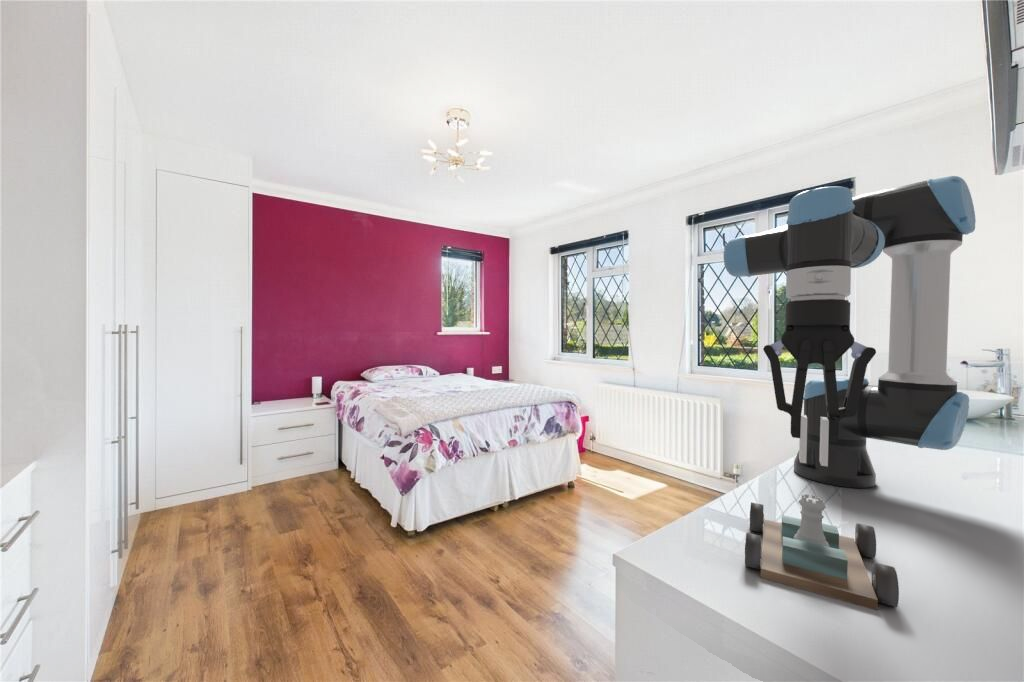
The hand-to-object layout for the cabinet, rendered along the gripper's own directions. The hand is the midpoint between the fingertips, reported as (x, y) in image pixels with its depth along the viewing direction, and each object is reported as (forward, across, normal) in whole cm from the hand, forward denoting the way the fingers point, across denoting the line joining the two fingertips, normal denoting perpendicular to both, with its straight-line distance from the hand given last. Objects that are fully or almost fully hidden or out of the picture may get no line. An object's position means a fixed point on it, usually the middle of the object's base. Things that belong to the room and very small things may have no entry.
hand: (812, 461), depth 60 cm
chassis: (+14, 0, 0) cm, 14 cm away
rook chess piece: (+13, 0, 0) cm, 13 cm away
